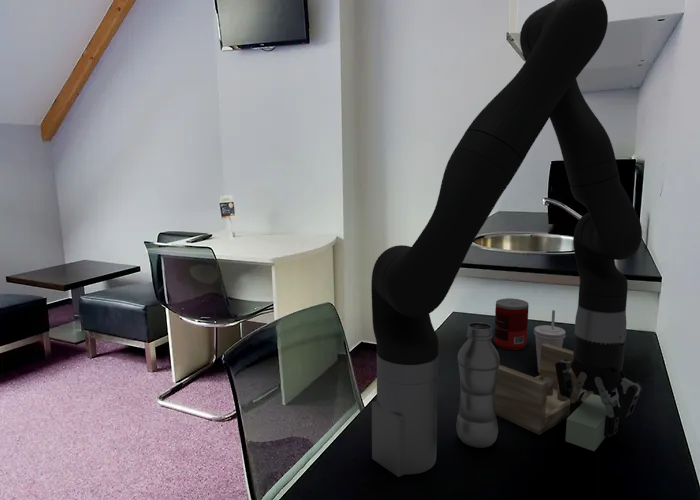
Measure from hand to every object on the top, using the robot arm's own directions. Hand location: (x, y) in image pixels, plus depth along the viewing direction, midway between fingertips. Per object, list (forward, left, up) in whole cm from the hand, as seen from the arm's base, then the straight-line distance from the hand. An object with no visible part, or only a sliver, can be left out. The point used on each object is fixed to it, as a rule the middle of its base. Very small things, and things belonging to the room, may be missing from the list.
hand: (592, 428), depth 86 cm
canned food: (+24, +33, -1) cm, 41 cm away
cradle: (+1, +10, 0) cm, 10 cm away
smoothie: (+16, +18, -1) cm, 24 cm away
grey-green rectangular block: (0, 0, -1) cm, 1 cm away
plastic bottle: (-18, +10, -1) cm, 21 cm away
